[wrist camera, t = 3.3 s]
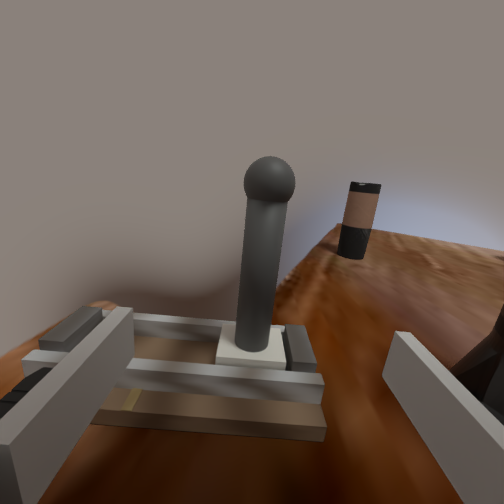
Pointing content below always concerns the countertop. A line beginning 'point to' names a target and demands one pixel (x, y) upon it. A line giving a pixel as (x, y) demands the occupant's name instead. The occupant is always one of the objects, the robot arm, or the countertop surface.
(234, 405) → the rail base
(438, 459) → the robot arm
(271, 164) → the slider
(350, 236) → the travel mug
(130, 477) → the countertop surface
